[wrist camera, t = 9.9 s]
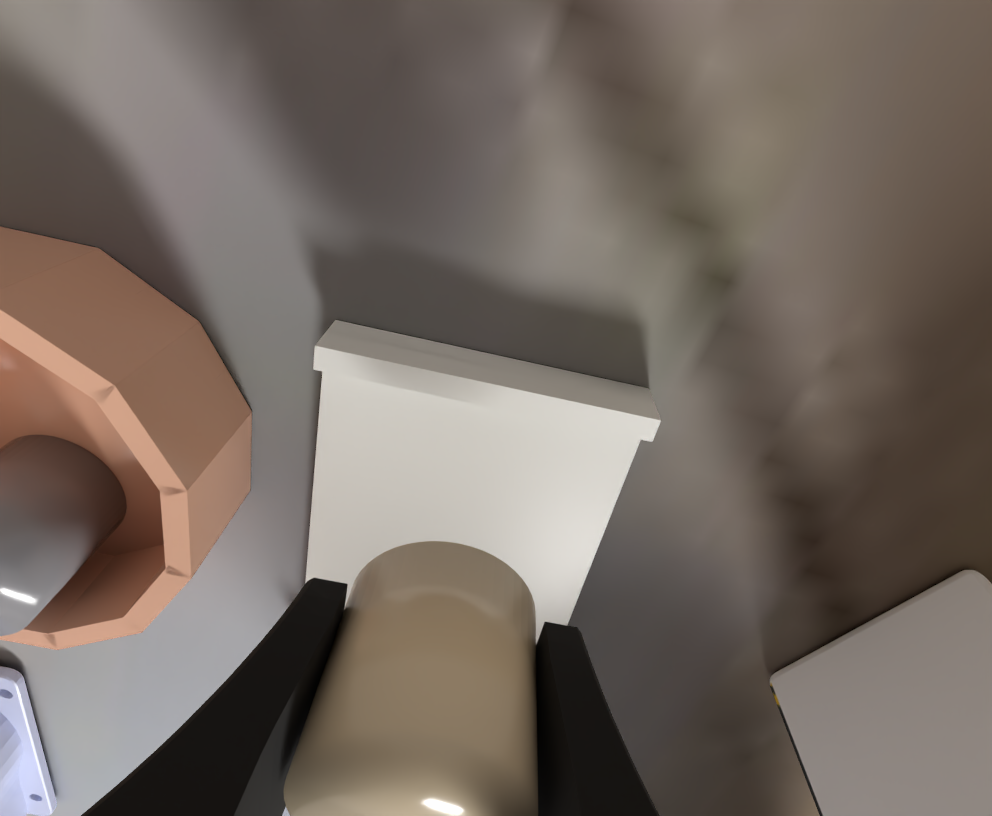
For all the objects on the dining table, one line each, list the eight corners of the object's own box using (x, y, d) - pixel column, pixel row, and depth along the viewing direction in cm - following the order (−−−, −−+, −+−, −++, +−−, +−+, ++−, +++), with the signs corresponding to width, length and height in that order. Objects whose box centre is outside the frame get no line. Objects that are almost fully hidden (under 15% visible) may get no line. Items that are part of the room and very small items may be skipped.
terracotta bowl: (249, 580, 19) (195, 675, 16) (-74, 517, 19) (-192, 604, 16) (254, 282, 15) (179, 339, 11) (-182, 185, 14) (-382, 219, 11)
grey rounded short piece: (133, 547, 18) (48, 648, 15) (11, 525, 18) (-101, 622, 15) (118, 448, 16) (19, 538, 13) (-17, 423, 16) (-151, 508, 13)
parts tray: (535, 686, 21) (535, 729, 20) (306, 643, 21) (290, 684, 19) (649, 388, 15) (661, 420, 14) (335, 319, 15) (314, 345, 13)
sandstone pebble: (512, 688, 13) (506, 890, 10) (341, 657, 12) (278, 853, 9) (556, 562, 11) (568, 760, 8) (359, 523, 11) (290, 711, 8)
